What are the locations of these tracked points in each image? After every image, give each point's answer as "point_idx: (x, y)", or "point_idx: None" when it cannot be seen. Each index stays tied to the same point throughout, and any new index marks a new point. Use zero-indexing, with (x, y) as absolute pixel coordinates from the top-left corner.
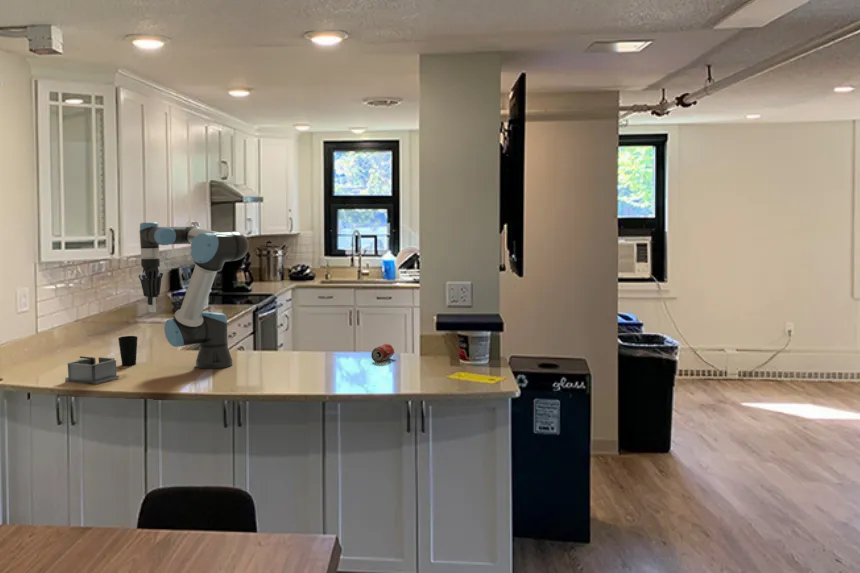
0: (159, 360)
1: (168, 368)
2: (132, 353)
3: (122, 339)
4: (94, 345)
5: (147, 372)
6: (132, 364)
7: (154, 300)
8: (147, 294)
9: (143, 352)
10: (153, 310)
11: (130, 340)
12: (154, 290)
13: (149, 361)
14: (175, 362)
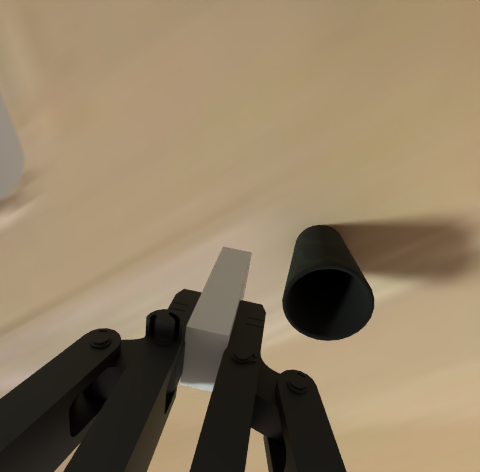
0: (223, 178)
1: (381, 43)
2: (340, 244)
3: (372, 308)
4: None
5: (473, 94)
6: (332, 229)
7: (217, 308)
8: (316, 406)
9: (110, 301)
10: (249, 263)
11: (360, 273)
12: (155, 406)
13: (248, 206)
14: (249, 87)
